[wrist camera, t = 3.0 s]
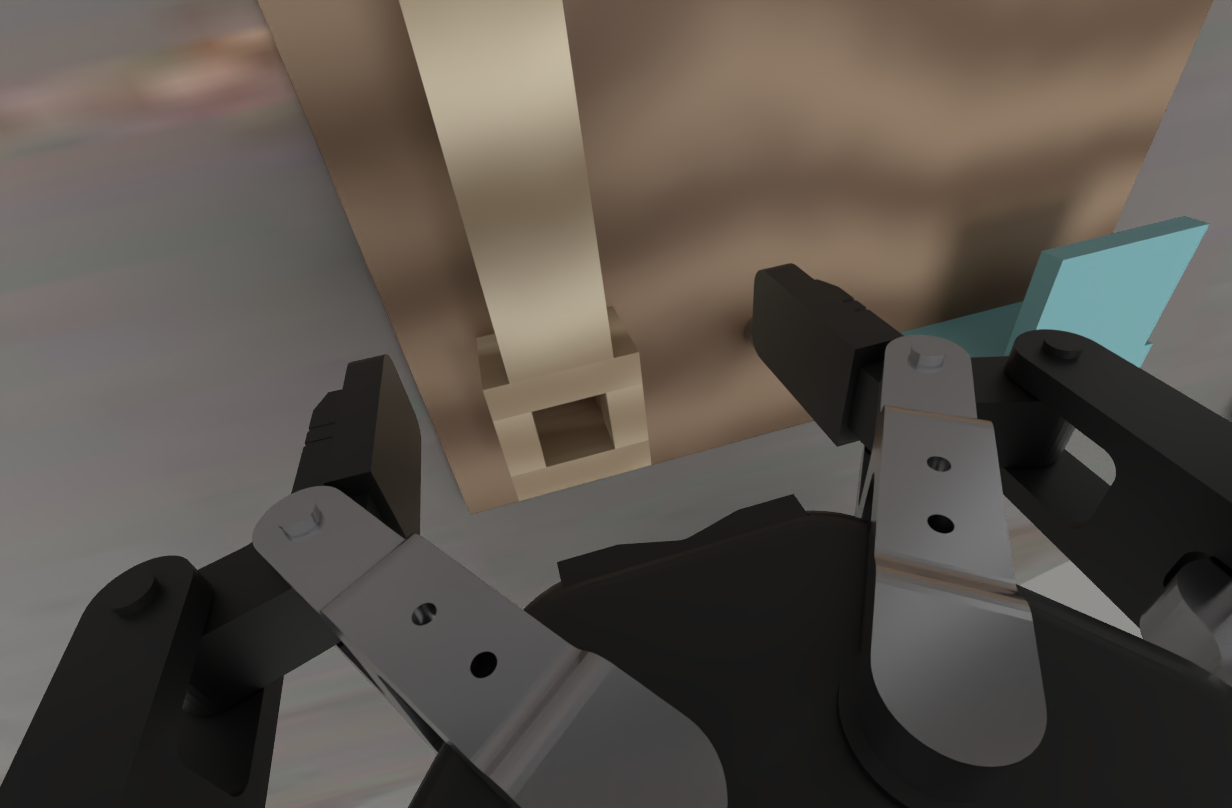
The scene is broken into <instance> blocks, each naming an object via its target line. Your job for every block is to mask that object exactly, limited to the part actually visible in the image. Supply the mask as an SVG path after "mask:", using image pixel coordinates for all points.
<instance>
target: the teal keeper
mask: <svg viewBox="0 0 1232 808" xmlns="http://www.w3.org/2000/svg"><path fill="white" fill-rule="evenodd" d="M1208 226H1209V223H1205V222H1202V221H1199V220H1195V219H1192V218H1189V217H1186V216H1183V217H1179V218H1175V219H1171V220H1167V221H1162V222H1158V223H1154V224H1150V225H1146V226H1142V227H1138V228H1134V229H1130V230H1126V231H1122V232H1117V233H1113V234H1109V235H1105V236H1101V237H1097V238H1093V239H1089V240H1085V241H1081V242H1077V243H1073V244H1068V245H1064V246H1060V247H1056V248H1052V249H1048V250H1044V251H1041V254H1040V257H1039V260H1038V263H1037V265H1036V268H1035V271H1034V274H1033V276H1032V279H1031V282H1030V285H1029V287H1028V290H1027V293H1026V296H1025V298H1024V301H1022V302H1018V303H1014V304H1010V305H1006V306H1002V307H999V308H995V309H991V310H987V311H983V312H979V313H975V314H971V315H967V316H964V317H960V318H956V319H952V320H948V321H944V322H940V323H936V324H932V325H929V326H925V327H921V328H917V329H913V330H909V331H905V332H901V334H902V335H904V336H908V335H929V336H935V337H940V338H943V339H946V340H949V341H951V342H954V343H956V344H957V345H959V346H961V347H962V348H963V349H964V350H965V351H966V352H967V353H968V354H969V356H970V358H971V357H997V356H1009V354H1010V351H1011V349H1012V346H1013V344H1014V341H1015V339H1016V338H1017V337H1018V336H1019V335H1020V334H1022V333H1024V332H1027V331H1031V330H1039V329H1052V330H1061V331H1067V332H1071V333H1075V334H1078V335H1081V336H1084V337H1086V338H1089V339H1091V340H1093V341H1095V342H1097V343H1098V344H1100V345H1102V346H1103V347H1105V348H1107V349H1108V350H1110V351H1112V352H1113V353H1115V354H1117V355H1118V356H1120V357H1122V358H1123V359H1125V360H1127V361H1129V362H1130V363H1132V364H1134V365H1135V366H1137V367H1139V368H1140V366H1141V364H1142V363H1143V361H1144V359H1145V357H1146V355H1147V354H1148V352H1149V350H1150V348H1151V346H1152V344H1153V343H1151V342H1149V341H1147V340H1148V338H1149V336H1150V334H1151V332H1152V330H1153V328H1154V327H1155V325H1156V323H1157V321H1158V319H1159V317H1160V315H1161V314H1162V312H1163V310H1164V308H1165V306H1166V304H1167V302H1168V301H1169V299H1170V297H1171V295H1172V293H1173V291H1174V289H1175V287H1176V286H1177V284H1178V282H1179V280H1180V278H1181V276H1182V274H1183V273H1184V271H1185V269H1186V267H1187V265H1188V263H1189V261H1190V260H1191V258H1192V256H1193V254H1194V252H1195V250H1196V248H1197V247H1198V245H1199V243H1200V241H1201V239H1202V237H1203V235H1204V233H1205V232H1206V230H1207V228H1208Z"/></svg>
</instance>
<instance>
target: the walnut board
mask: <svg viewBox="0 0 1232 808" xmlns="http://www.w3.org/2000/svg"><path fill="white" fill-rule="evenodd" d="M562 2H563V9H564V16H565V23H566V30H567V37H568V44H569V51H570V58H571V64H572V71H573V78H574V85H575V92H576V99H577V106H578V113H579V120H580V127H581V134H582V141H583V148H584V155H585V162H586V169H587V176H588V183H589V190H590V197H591V204H592V210H593V217H594V224H595V231H596V238H597V245H598V252H599V259H600V266H601V273H602V280H603V287H604V294H605V301H606V308H607V307H611V306H613V307H614V309H615V311H616V313H617V314H618V316H619V318H620V320H621V321H622V323H623V325H624V327H625V328H626V330H627V332H628V334H629V335H630V337H631V339H632V341H633V342H634V344H635V346H636V348H637V349H638V351H639V357H640V366H641V375H642V384H643V393H644V402H645V411H646V420H647V429H648V438H649V447H650V456H651V465H653V464H657V463H661V462H664V461H668V460H672V459H675V458H679V457H683V456H686V455H690V454H694V453H697V452H701V451H705V450H708V449H712V448H716V447H719V446H723V445H727V444H730V443H734V442H737V441H741V440H745V439H748V438H752V437H756V436H759V435H763V434H767V433H770V432H774V431H778V430H781V429H785V428H789V427H792V426H796V425H800V424H803V423H807V422H811V421H814V420H813V418H812V417H811V416H810V415H809V414H808V413H807V412H806V410H805V409H804V408H803V407H802V406H801V405H800V404H799V402H798V401H797V400H796V399H795V398H794V397H793V395H792V394H791V393H790V392H789V391H788V390H787V389H786V387H785V386H784V385H783V384H782V383H781V382H780V381H779V379H778V378H777V377H776V376H775V375H774V374H773V373H772V371H771V370H770V369H769V368H768V367H767V366H766V365H765V363H764V362H763V361H762V360H761V359H760V358H759V356H758V354H757V352H756V350H755V349H754V348H753V347H752V346H751V345H750V343H749V342H748V341H747V340H746V339H745V337H744V329H745V326H746V324H747V323H748V322H749V320H750V319H752V316H753V295H754V279H755V275H756V273H757V272H758V271H759V270H762V269H766V268H771V267H775V266H780V265H784V264H788V263H793V264H795V265H796V266H798V267H799V268H800V269H801V270H803V271H804V272H805V273H807V274H808V275H809V276H810V277H812V278H813V279H814V280H816V279H819V280H821V281H824V282H827V283H830V284H832V285H835V286H838V287H840V288H841V289H842V290H844V291H845V292H846V293H848V294H849V295H850V296H852V297H853V298H854V301H856V300H857V301H858V302H860V303H861V304H862V305H864V306H865V307H866V310H870V311H872V312H873V313H874V314H876V315H877V316H878V317H880V318H881V319H882V320H884V321H885V322H886V323H888V324H889V325H890V326H892V327H893V328H894V329H896V330H897V331H898V332H900V333H901V332H905V331H909V330H913V329H917V328H921V327H925V326H929V325H932V324H936V323H940V322H944V321H948V320H952V319H956V318H960V317H964V316H967V315H971V314H975V313H979V312H983V311H987V310H991V309H995V308H999V307H1002V306H1006V305H1010V304H1014V303H1018V302H1022V301H1024V298H1025V296H1026V293H1027V290H1028V287H1029V285H1030V282H1031V279H1032V276H1033V274H1034V271H1035V268H1036V265H1037V263H1038V260H1039V257H1040V254H1041V251H1044V250H1048V249H1052V248H1056V247H1060V246H1064V245H1068V244H1073V243H1077V242H1081V241H1085V240H1089V239H1093V238H1097V237H1101V236H1105V235H1109V234H1112V233H1113V231H1114V228H1115V226H1116V224H1117V221H1118V219H1119V217H1120V214H1121V212H1122V210H1123V208H1124V205H1125V203H1126V201H1127V198H1128V196H1129V194H1130V191H1131V189H1132V187H1133V184H1134V182H1135V180H1136V178H1137V175H1138V173H1139V171H1140V168H1141V166H1142V164H1143V161H1144V159H1145V157H1146V154H1147V152H1148V150H1149V148H1150V145H1151V143H1152V141H1153V138H1154V136H1155V134H1156V131H1157V129H1158V127H1159V124H1160V122H1161V120H1162V118H1163V115H1164V113H1165V111H1166V108H1167V106H1168V104H1169V101H1170V99H1171V97H1172V94H1173V92H1174V90H1175V88H1176V85H1177V83H1178V81H1179V78H1180V76H1181V74H1182V71H1183V69H1184V67H1185V64H1186V62H1187V60H1188V58H1189V55H1190V53H1191V51H1192V48H1193V46H1194V44H1195V41H1196V39H1197V37H1198V35H1199V32H1200V30H1201V28H1202V25H1203V23H1204V21H1205V18H1206V16H1207V14H1208V11H1209V9H1210V7H1211V5H1212V2H1213V0H562ZM258 3H259V5H260V8H261V10H262V12H263V15H264V17H265V20H266V22H267V25H268V27H269V29H270V32H271V34H272V37H273V39H274V41H275V44H276V46H277V49H278V51H279V54H280V56H281V58H282V61H283V63H284V66H285V68H286V70H287V73H288V75H289V78H290V80H291V83H292V85H293V87H294V90H295V92H296V95H297V97H298V99H299V102H300V104H301V107H302V109H303V111H304V114H305V116H306V119H307V121H308V124H309V126H310V128H311V131H312V133H313V136H314V138H315V140H316V143H317V145H318V148H319V150H320V153H321V155H322V157H323V160H324V162H325V165H326V167H327V169H328V172H329V174H330V177H331V179H332V182H333V184H334V186H335V189H336V191H337V194H338V196H339V198H340V201H341V203H342V206H343V208H344V210H345V213H346V215H347V218H348V220H349V223H350V225H351V227H352V230H353V232H354V235H355V237H356V239H357V242H358V244H359V247H360V249H361V252H362V254H363V256H364V259H365V261H366V264H367V266H368V268H369V271H370V273H371V276H372V278H373V281H374V283H375V285H376V288H377V290H378V293H379V295H380V297H381V300H382V302H383V305H384V307H385V309H386V312H387V314H388V317H389V319H390V322H391V324H392V326H393V329H394V331H395V334H396V336H397V338H398V341H399V343H400V346H401V348H402V351H403V353H404V355H405V358H406V360H407V363H408V365H409V367H410V370H411V372H412V375H413V377H414V380H415V382H416V384H417V387H418V389H419V392H420V394H421V396H422V399H423V401H424V404H425V406H426V408H427V411H428V413H429V416H430V418H431V421H432V423H433V425H434V428H435V430H436V433H437V435H438V437H439V440H440V442H441V445H442V447H443V450H444V452H445V454H446V457H447V459H448V462H449V464H450V466H451V469H452V471H453V474H454V476H455V479H456V481H457V483H458V486H459V488H460V491H461V493H462V495H463V498H464V500H465V503H466V505H467V507H468V510H469V512H470V515H471V514H474V513H478V512H482V511H485V510H489V509H493V508H496V507H500V506H504V505H507V504H511V503H515V502H518V501H519V500H518V496H517V493H516V490H515V487H514V484H513V481H512V478H511V475H510V472H509V469H508V466H507V463H506V460H505V457H504V454H503V451H502V448H501V445H500V442H499V438H498V435H497V432H496V429H495V426H494V423H493V420H492V417H491V414H490V411H489V408H488V405H487V402H486V399H485V396H484V393H483V389H482V381H481V373H480V365H479V357H478V349H477V341H476V338H478V337H483V336H487V335H491V334H495V332H494V328H493V325H492V321H491V318H490V314H489V311H488V307H487V304H486V300H485V297H484V293H483V290H482V286H481V283H480V280H479V276H478V273H477V269H476V266H475V262H474V259H473V255H472V252H471V248H470V245H469V241H468V238H467V235H466V231H465V228H464V224H463V221H462V217H461V214H460V210H459V207H458V203H457V200H456V196H455V193H454V190H453V186H452V183H451V179H450V176H449V172H448V169H447V165H446V162H445V158H444V155H443V151H442V148H441V144H440V141H439V138H438V134H437V131H436V127H435V124H434V120H433V117H432V113H431V110H430V106H429V103H428V99H427V96H426V93H425V89H424V86H423V82H422V79H421V75H420V72H419V68H418V65H417V61H416V58H415V54H414V51H413V47H412V44H411V41H410V37H409V34H408V30H407V27H406V23H405V20H404V16H403V13H402V9H401V6H400V2H399V0H258ZM592 397H593V396H592ZM588 398H589V397H588ZM584 399H585V398H584ZM580 400H581V399H580ZM576 401H577V400H576ZM572 402H573V401H572ZM569 403H570V402H569ZM565 404H566V403H565ZM561 405H562V404H561ZM557 406H558V405H557ZM553 407H554V406H553ZM549 408H550V407H549ZM545 409H546V408H545ZM541 410H542V409H541ZM537 411H538V410H537ZM533 412H534V411H533ZM631 471H632V470H631ZM536 497H537V496H536Z"/></svg>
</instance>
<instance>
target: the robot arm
mask: <svg viewBox="0 0 1232 808" xmlns="http://www.w3.org/2000/svg"><path fill="white" fill-rule="evenodd" d="M752 340H753V344H754V348H755V350H756V352H757V354H758V356H759V358H760V359H761V360H762V361H763V362H764V363H765V365H766V366H767V367H768V368H769V369H770V370H771V371H772V373H773V374H774V375H775V376H776V377H777V378H778V379H779V381H780V382H781V383H782V384H783V385H784V386H785V387H786V389H787V390H788V391H789V392H790V393H791V394H792V395H793V397H794V398H795V399H796V400H797V401H798V402H799V404H800V405H801V406H802V407H803V408H804V409H805V410H806V412H807V413H808V414H809V415H810V416H811V417H812V418H813V420H814V421H815V422H816V423H817V424H818V425H819V426H820V428H821V429H822V430H823V431H824V432H825V433H826V434H827V436H828V437H829V438H830V439H831V440H832V441H833V442H834V444H835V445H836V446H837V447H838V446H841V445H845V444H848V443H852V442H855V441H859V440H860V441H861V442H862V443H863V444H864V448H863V452H862V457H861V464H860V473H859V482H858V491H857V500H856V509H855V516H851V515H847V514H842V513H835V512H828V511H805V510H804V508H803V507H802V506H801V504H800V503H799V501H798V500H797V498H796V497H795V496H794V494H792V495H788V496H785V497H781V498H778V499H775V500H771V501H768V502H764V503H761V504H757V505H754V506H750V507H747V508H743V509H740V510H737V511H735V512H734V513H732V514H730V515H728V516H727V517H725V518H723V519H721V520H719V521H718V522H716V523H714V524H712V525H711V526H709V527H707V528H705V529H704V530H702V531H700V532H698V533H697V534H695V535H693V536H691V537H689V538H687V539H684V540H679V541H665V542H651V543H636V544H621V545H615V546H612V547H608V548H605V549H601V550H598V551H594V552H591V553H587V554H584V555H580V556H577V557H573V558H570V559H567V560H563V561H560V562H557V564H558V569H559V573H560V578H561V582H559V583H557V584H555V585H554V586H552V587H550V588H549V589H547V590H546V591H545V592H543V593H542V594H540V595H539V596H538V597H536V598H535V599H534V600H533V601H532V602H531V603H530V604H529V605H527V606H526V607H525V608H524V610H522V609H521V608H520V607H518V606H517V605H516V604H514V603H513V602H511V601H510V600H509V599H507V598H506V597H505V596H503V595H502V594H501V593H499V592H498V591H496V590H495V589H494V588H492V587H491V586H490V585H488V584H487V583H485V582H484V581H483V580H481V579H480V578H479V577H477V576H476V575H475V574H473V573H472V572H470V571H469V570H468V569H466V568H465V567H464V566H462V565H461V564H459V563H458V562H457V561H455V560H454V559H453V558H451V557H450V556H449V555H447V554H446V553H444V552H443V551H442V550H440V549H439V548H438V547H436V546H435V545H433V544H432V543H431V542H429V541H428V540H427V539H425V538H424V537H422V536H420V487H421V435H420V429H419V425H418V421H417V418H416V415H415V413H414V410H413V408H412V406H411V403H410V401H409V399H408V396H407V394H406V392H405V389H404V387H403V385H402V382H401V380H400V378H399V375H398V373H397V371H396V368H395V366H394V364H393V362H392V360H391V358H390V357H389V356H388V355H387V354H385V355H380V356H376V357H372V358H367V359H363V360H358V361H354V362H350V363H349V364H348V366H347V370H346V375H345V380H344V385H343V389H341V390H337V391H333V392H328V393H327V395H326V396H325V397H324V398H323V400H322V401H321V402H320V403H319V404H318V406H317V407H316V408H315V409H314V410H313V414H312V418H311V421H310V425H309V432H308V433H307V436H306V440H305V445H306V446H305V447H304V448H303V452H302V455H301V459H300V463H299V467H298V470H297V474H296V478H295V482H294V485H293V489H292V493H291V494H290V495H288V496H286V497H285V498H283V499H282V500H280V501H279V502H277V503H276V504H275V505H273V506H272V507H271V508H270V509H269V510H268V511H266V513H265V514H264V515H263V516H262V517H261V518H260V520H259V521H258V523H257V525H256V527H255V529H254V532H253V535H252V543H251V544H249V545H247V546H245V547H243V548H242V549H240V550H238V551H236V552H233V553H231V554H229V555H227V556H225V557H223V558H221V559H219V560H217V561H215V562H213V563H211V564H209V565H207V566H205V567H203V568H201V569H199V570H197V569H196V568H195V567H194V566H193V565H192V564H191V563H190V562H189V561H188V560H187V559H185V558H183V557H180V556H162V557H158V558H154V559H151V560H148V561H145V562H143V563H141V564H138V565H136V566H134V567H132V568H131V569H129V570H127V571H125V572H124V573H122V574H121V575H119V576H118V577H116V578H115V579H114V580H112V581H111V582H110V583H108V584H107V585H106V586H105V587H104V588H103V589H102V590H101V591H100V592H99V593H98V594H97V595H96V596H95V597H94V598H93V599H92V601H91V602H90V603H89V605H88V606H87V607H86V609H85V611H84V613H83V614H82V617H81V619H80V621H79V623H78V625H77V627H76V629H75V631H74V633H73V635H72V638H71V640H70V642H69V644H68V646H67V648H66V650H65V652H64V654H63V656H62V659H61V661H60V663H59V665H58V667H57V669H56V671H55V673H54V675H53V677H52V680H51V682H50V684H49V686H48V688H47V690H46V692H45V694H44V696H43V698H42V701H41V703H40V705H39V707H38V709H37V711H36V713H35V715H34V717H33V719H32V722H31V724H30V726H29V728H28V730H27V732H26V734H25V736H24V738H23V740H22V743H21V745H20V747H19V749H18V751H17V753H16V755H15V757H14V759H13V761H12V764H11V766H10V768H9V770H8V772H7V774H6V776H5V778H4V780H3V782H2V784H1V787H0V808H265V803H266V797H267V790H268V783H269V776H270V769H271V762H272V755H273V748H274V741H275V734H276V727H277V720H278V713H279V706H280V699H281V692H282V685H283V678H284V675H285V674H287V673H289V672H290V671H292V670H294V669H295V668H297V667H299V666H300V665H302V664H304V663H306V662H307V661H309V660H311V659H312V658H314V657H316V656H317V655H319V654H321V653H323V652H324V651H326V650H328V649H329V648H331V647H333V646H334V645H335V647H336V648H337V649H338V650H339V651H340V652H341V653H342V654H343V655H344V656H345V657H346V658H347V659H348V660H349V661H350V662H351V663H352V664H353V665H354V666H355V668H356V669H357V670H358V671H359V672H360V673H361V674H362V675H363V676H364V677H365V678H366V679H367V680H368V681H369V682H370V683H371V684H372V685H373V686H374V687H375V688H376V689H377V690H378V692H379V693H380V694H381V695H382V696H383V697H384V698H385V699H386V700H387V701H388V702H389V703H390V704H391V705H392V706H393V707H394V708H395V709H396V710H397V712H398V713H399V714H400V715H401V716H402V717H403V718H404V719H405V721H406V722H407V723H408V724H409V725H410V726H411V727H412V729H413V730H414V731H415V732H416V733H417V734H418V735H419V736H420V738H421V739H422V740H423V741H424V742H425V743H426V744H427V745H428V746H429V747H430V748H431V750H432V751H433V752H434V753H435V754H436V755H437V756H436V757H435V759H434V761H433V763H432V765H431V767H430V768H429V770H428V772H427V774H426V776H425V777H424V779H423V781H422V783H421V785H420V786H419V788H418V790H417V792H416V794H415V796H414V797H413V799H412V801H411V803H410V805H409V806H408V808H1232V423H1231V422H1229V421H1228V420H1226V419H1224V418H1223V417H1221V416H1219V415H1218V414H1216V413H1214V412H1213V411H1211V410H1209V409H1208V408H1206V407H1204V406H1203V405H1201V404H1199V403H1198V402H1196V401H1194V400H1192V399H1191V398H1189V397H1187V396H1186V395H1184V394H1182V393H1181V392H1179V391H1177V390H1176V389H1174V388H1172V387H1171V386H1169V385H1167V384H1166V383H1164V382H1162V381H1160V380H1159V379H1157V378H1155V377H1154V376H1152V375H1150V374H1149V373H1147V372H1145V371H1144V370H1142V369H1140V368H1139V367H1137V366H1135V365H1134V364H1132V363H1130V362H1129V361H1127V360H1125V359H1123V358H1122V357H1120V356H1118V355H1117V354H1115V353H1113V352H1112V351H1110V350H1108V349H1107V348H1105V347H1103V346H1102V345H1100V344H1098V343H1097V342H1095V341H1093V340H1091V339H1089V338H1086V337H1084V336H1081V335H1078V334H1075V333H1071V332H1067V331H1061V330H1052V329H1039V330H1031V331H1027V332H1024V333H1022V334H1020V335H1019V336H1018V337H1017V338H1016V339H1015V341H1014V344H1013V346H1012V349H1011V351H1010V354H1009V356H997V357H971V358H970V356H969V354H968V353H967V352H966V351H965V350H964V349H963V348H962V347H961V346H959V345H957V344H956V343H954V342H951V341H949V340H946V339H943V338H940V337H935V336H929V335H908V336H904V335H902V334H901V333H900V332H898V331H897V330H896V329H894V328H893V327H892V326H890V325H889V324H888V323H886V322H885V321H884V320H882V319H881V318H880V317H878V316H877V315H876V314H874V313H873V312H872V311H870V310H866V307H865V306H864V305H862V304H861V303H860V302H858V301H857V300H856V301H854V298H853V297H852V296H850V295H849V294H848V293H846V292H845V291H844V290H842V289H841V288H840V287H838V286H835V285H832V284H830V283H827V282H824V281H821V280H819V279H816V280H814V279H813V278H812V277H810V276H809V275H808V274H807V273H805V272H804V271H803V270H801V269H800V268H799V267H798V266H796V265H795V264H793V263H788V264H784V265H780V266H775V267H771V268H766V269H762V270H759V271H758V272H757V273H756V275H755V279H754V295H753V316H752ZM1075 428H1077V429H1078V430H1079V431H1080V432H1082V433H1083V434H1084V435H1086V436H1087V437H1088V438H1090V439H1091V440H1092V441H1094V442H1095V443H1096V444H1098V445H1099V446H1100V447H1102V448H1103V449H1104V450H1105V451H1106V452H1107V453H1108V454H1109V455H1110V456H1111V458H1112V459H1113V461H1114V464H1115V467H1116V477H1115V480H1114V482H1113V484H1112V485H1111V486H1110V485H1108V484H1107V483H1106V482H1105V481H1104V480H1102V479H1101V478H1100V477H1099V476H1097V475H1096V474H1095V473H1094V472H1092V471H1091V470H1090V469H1089V468H1087V467H1086V466H1085V465H1084V464H1082V463H1081V462H1080V461H1079V460H1078V459H1076V458H1075V457H1074V456H1073V455H1071V454H1070V453H1069V452H1068V451H1066V450H1065V449H1064V448H1065V446H1066V445H1067V443H1068V441H1069V439H1070V437H1071V435H1072V433H1073V431H1074V429H1075ZM1003 494H1004V495H1005V496H1006V497H1007V498H1008V499H1009V500H1010V501H1011V502H1012V503H1013V504H1014V505H1015V506H1016V507H1017V508H1018V509H1019V510H1020V511H1021V512H1022V513H1023V514H1024V515H1025V516H1026V517H1027V518H1028V519H1029V520H1030V521H1031V522H1032V523H1033V524H1034V525H1035V526H1036V527H1037V528H1038V529H1039V530H1040V531H1041V532H1042V533H1043V534H1044V535H1045V536H1046V537H1047V538H1048V539H1049V540H1050V541H1051V542H1052V543H1053V544H1054V545H1055V546H1056V547H1057V548H1058V549H1059V550H1060V551H1061V552H1062V553H1063V554H1064V555H1066V556H1067V557H1068V558H1069V559H1070V560H1071V561H1072V562H1073V563H1074V564H1075V565H1076V566H1077V567H1078V568H1079V569H1080V570H1081V571H1082V572H1083V573H1084V574H1085V575H1086V576H1087V577H1088V578H1089V579H1090V580H1091V581H1092V582H1093V583H1094V584H1095V585H1096V586H1097V587H1098V588H1099V589H1100V590H1101V591H1102V592H1103V593H1104V594H1105V595H1106V596H1107V597H1108V598H1109V599H1110V600H1111V601H1112V602H1113V603H1114V604H1115V605H1116V606H1117V607H1118V608H1119V609H1120V610H1121V611H1122V612H1124V613H1125V615H1126V616H1127V617H1128V618H1130V620H1132V621H1133V622H1134V623H1135V624H1136V625H1137V626H1138V627H1139V628H1140V631H1141V635H1142V637H1143V639H1141V638H1139V637H1137V636H1134V635H1132V634H1130V633H1127V632H1125V631H1123V630H1121V629H1118V628H1116V627H1114V626H1111V625H1109V624H1107V623H1104V622H1102V621H1099V620H1097V619H1095V618H1093V617H1091V616H1088V615H1086V614H1084V613H1081V612H1079V611H1077V610H1074V609H1072V608H1070V607H1067V606H1065V605H1063V604H1061V603H1058V602H1056V601H1054V600H1051V599H1049V598H1047V597H1044V596H1042V595H1040V594H1037V593H1035V592H1033V591H1030V590H1028V589H1026V588H1023V587H1021V586H1019V585H1017V584H1015V578H1014V570H1013V563H1012V556H1011V549H1010V541H1009V534H1008V527H1007V520H1006V512H1005V505H1004V498H1003Z"/></svg>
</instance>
